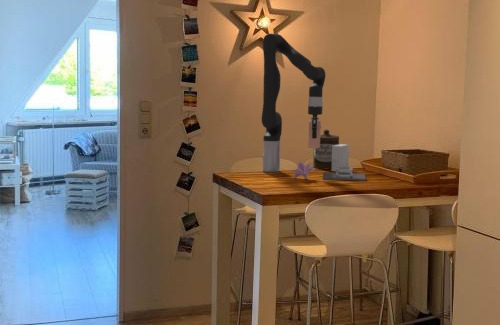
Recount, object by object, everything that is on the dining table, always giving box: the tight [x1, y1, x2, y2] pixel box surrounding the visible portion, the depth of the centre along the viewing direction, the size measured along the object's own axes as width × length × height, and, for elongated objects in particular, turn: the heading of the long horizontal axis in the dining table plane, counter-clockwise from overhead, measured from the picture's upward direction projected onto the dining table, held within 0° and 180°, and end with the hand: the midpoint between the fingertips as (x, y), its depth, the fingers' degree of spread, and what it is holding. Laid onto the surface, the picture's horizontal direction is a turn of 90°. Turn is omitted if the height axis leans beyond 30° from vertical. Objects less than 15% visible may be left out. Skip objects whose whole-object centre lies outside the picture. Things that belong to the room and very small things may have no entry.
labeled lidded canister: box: [312, 129, 340, 170], centre depth 359 cm, size 15×15×22 cm
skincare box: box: [331, 143, 350, 173], centre depth 345 cm, size 8×6×15 cm
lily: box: [291, 161, 316, 179], centre depth 319 cm, size 12×12×10 cm
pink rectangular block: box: [307, 120, 322, 149], centre depth 326 cm, size 6×4×14 cm, turn 82°
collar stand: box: [322, 166, 367, 182], centre depth 325 cm, size 22×16×5 cm
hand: (314, 137), depth 327 cm, fingers closed on pink rectangular block, 4 cm apart
